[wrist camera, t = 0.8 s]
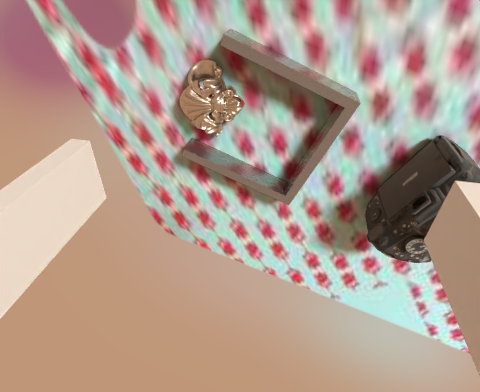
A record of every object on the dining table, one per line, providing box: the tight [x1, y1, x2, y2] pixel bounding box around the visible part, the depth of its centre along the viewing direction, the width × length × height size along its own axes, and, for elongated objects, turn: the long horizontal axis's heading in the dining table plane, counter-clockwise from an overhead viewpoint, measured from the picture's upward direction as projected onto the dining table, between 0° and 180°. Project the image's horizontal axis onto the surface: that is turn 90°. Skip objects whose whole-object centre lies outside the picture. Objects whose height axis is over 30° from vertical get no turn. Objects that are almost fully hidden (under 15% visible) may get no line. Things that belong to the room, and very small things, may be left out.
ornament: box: [180, 60, 245, 137], centre depth 33 cm, size 8×7×4 cm
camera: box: [365, 136, 480, 263], centre depth 32 cm, size 13×10×10 cm
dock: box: [182, 29, 360, 205], centre depth 34 cm, size 14×14×3 cm
